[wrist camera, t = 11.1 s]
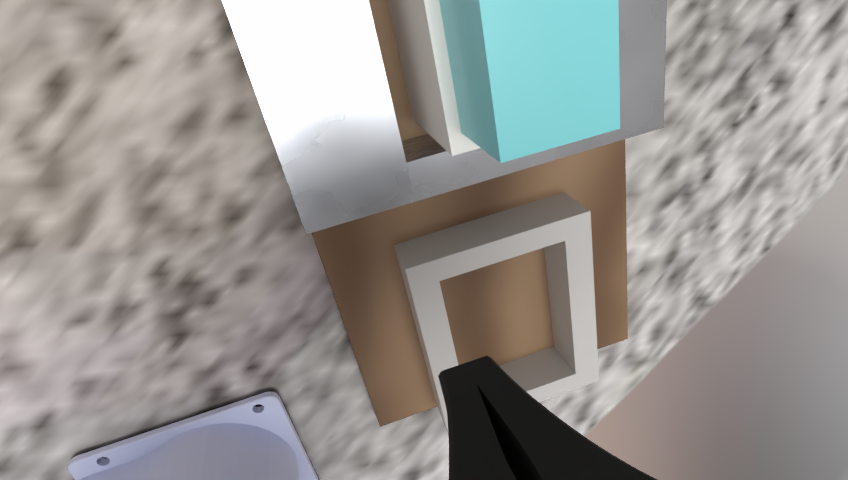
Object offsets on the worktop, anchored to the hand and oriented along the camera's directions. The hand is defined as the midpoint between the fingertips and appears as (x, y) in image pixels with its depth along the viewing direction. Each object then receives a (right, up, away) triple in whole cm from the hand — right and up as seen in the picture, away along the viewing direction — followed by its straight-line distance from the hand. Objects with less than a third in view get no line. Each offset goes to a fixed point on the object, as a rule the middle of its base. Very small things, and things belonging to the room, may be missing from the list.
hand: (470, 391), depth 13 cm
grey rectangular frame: (+2, +1, +12) cm, 12 cm away
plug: (0, +12, +5) cm, 13 cm away
